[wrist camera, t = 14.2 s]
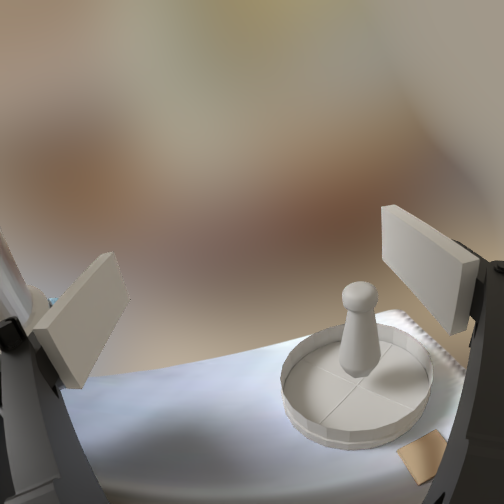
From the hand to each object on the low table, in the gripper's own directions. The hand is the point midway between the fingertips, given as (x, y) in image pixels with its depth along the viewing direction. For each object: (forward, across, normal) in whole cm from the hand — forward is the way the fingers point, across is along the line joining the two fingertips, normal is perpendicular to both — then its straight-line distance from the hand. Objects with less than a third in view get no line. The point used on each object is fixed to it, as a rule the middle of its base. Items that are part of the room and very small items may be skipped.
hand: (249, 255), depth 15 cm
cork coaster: (+2, +16, -30) cm, 34 cm away
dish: (+17, +11, -31) cm, 37 cm away
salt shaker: (+17, +11, -26) cm, 33 cm away
